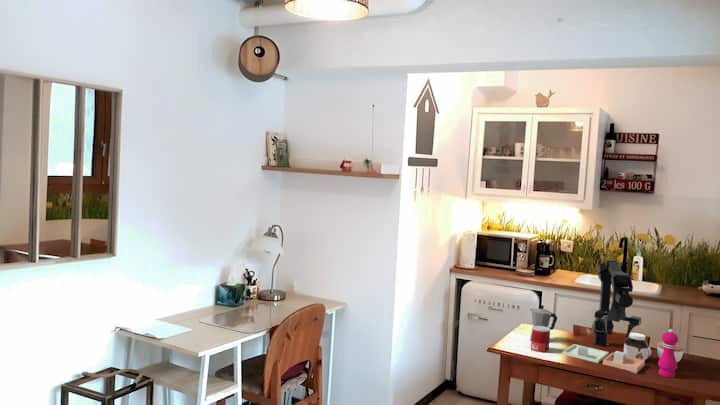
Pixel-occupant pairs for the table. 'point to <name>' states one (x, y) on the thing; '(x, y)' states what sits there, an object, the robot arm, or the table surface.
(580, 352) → the grey cube
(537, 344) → the canned food
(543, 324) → the coffeepot
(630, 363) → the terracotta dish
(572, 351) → the green tray
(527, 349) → the table surface
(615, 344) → the table surface
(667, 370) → the pepper mill
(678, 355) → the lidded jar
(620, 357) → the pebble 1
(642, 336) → the spread jar
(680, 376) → the table surface
